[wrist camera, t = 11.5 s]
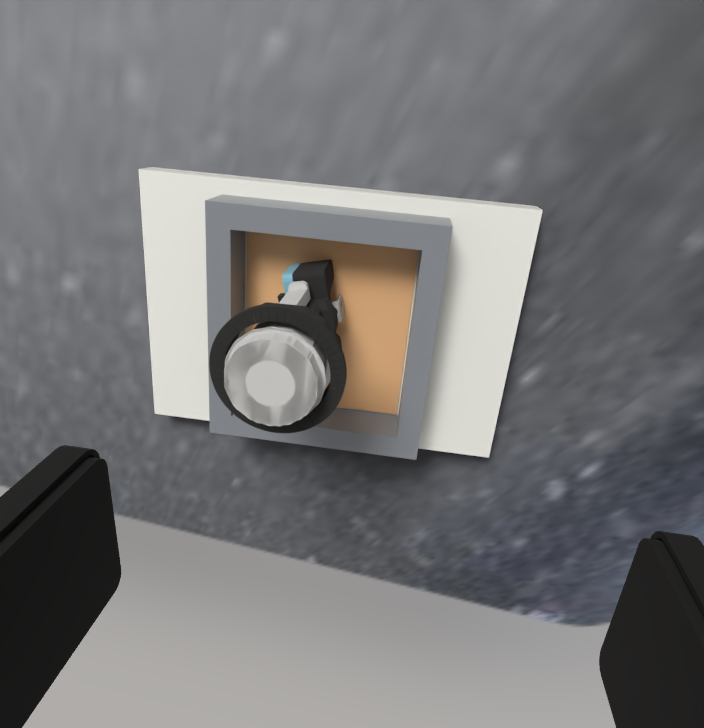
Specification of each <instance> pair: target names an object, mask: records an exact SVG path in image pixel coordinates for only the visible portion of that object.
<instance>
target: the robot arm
mask: <svg viewBox="0 0 704 728" xmlns="http://www.w3.org/2000/svg"><path fill="white" fill-rule="evenodd" d="M120 578H121V565H120V557H119V551H118V542H117V535H116V527H115V520H114V512H113V505H112V497H111V490H110V482H109V475H108V467H107V463H106V461H105V460H104V459H100V457H99V454H98V452H97V451H96V450H93V449H88V448H81V447H74V446H67V445H64V446H60V447H59V448H57V449H56V450H54V451H53V452H52V453H51V454H50V455H49V456H47V457H46V458H45V459H44V460H43V461H42V462H41V463H39V464H38V465H37V466H36V467H35V468H34V469H32V470H31V471H30V472H29V473H28V474H27V475H25V476H24V477H23V478H22V479H21V480H20V481H18V482H17V483H16V484H15V485H14V486H13V487H11V488H10V489H9V490H8V491H7V492H6V493H5V494H3V495H2V496H1V497H0V728H22V726H23V725H24V724H25V722H26V721H27V719H28V718H29V716H30V715H31V714H32V712H33V711H34V709H35V708H36V706H37V705H38V703H39V702H40V701H41V699H42V698H43V696H44V695H45V693H46V692H47V690H48V689H49V687H50V686H51V684H52V683H53V682H54V680H55V679H56V677H57V676H58V674H59V673H60V671H61V670H62V668H63V667H64V665H65V664H66V663H67V661H68V660H69V658H70V657H71V655H72V653H73V652H74V651H75V649H76V648H77V647H78V645H79V644H80V642H81V641H82V639H83V638H84V636H85V635H86V633H87V632H88V631H89V629H90V628H91V626H92V625H93V623H94V622H95V620H96V619H97V617H98V616H99V614H100V613H101V612H102V610H103V608H104V607H105V606H106V604H107V603H108V601H109V600H110V598H111V597H112V595H113V594H114V593H115V591H116V589H117V587H118V585H119V581H120ZM599 659H600V660H599V665H600V672H601V677H602V680H603V684H604V687H605V690H606V694H607V697H608V700H609V704H610V707H611V711H612V714H613V718H614V721H615V724H616V728H704V546H703V544H702V543H701V541H700V540H699V539H698V538H696V537H694V536H690V535H683V534H676V533H669V532H662V531H657V532H655V533H654V534H653V535H652V536H651V538H650V539H648V538H644V539H642V540H641V541H640V543H639V545H638V548H637V551H636V554H635V556H634V559H633V562H632V565H631V568H630V570H629V573H628V576H627V579H626V581H625V584H624V587H623V590H622V593H621V595H620V598H619V601H618V604H617V606H616V609H615V612H614V615H613V617H612V620H611V623H610V626H609V629H608V631H607V634H606V637H605V640H604V643H603V645H602V648H601V651H600V658H599Z"/></svg>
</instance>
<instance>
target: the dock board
mask: <svg viewBox="0 0 704 728" xmlns="http://www.w3.org/2000/svg"><path fill="white" fill-rule="evenodd" d="M139 182H140V197H141V212H142V227H143V243H144V258H145V273H146V288H147V303H148V318H149V334H150V349H151V364H152V379H153V394H154V410H155V414H161V415H169V416H176V417H184V418H191V419H199V420H207V421H210V433H218V434H225V435H233V436H241V437H248V438H256V439H263V440H271V441H278V442H286V443H293V444H301V445H308V446H316V447H323V448H331V449H338V450H346V451H353V452H361V453H368V454H376V455H383V456H391V457H398V458H406V459H413V460H416V459H417V453H418V448H419V449H427V450H434V451H442V452H450V453H457V454H465V455H472V456H480V457H488V458H489V455H490V450H491V445H492V441H493V436H494V432H495V427H496V423H497V418H498V413H499V409H500V404H501V400H502V395H503V390H504V386H505V381H506V377H507V372H508V367H509V363H510V358H511V354H512V349H513V344H514V340H515V335H516V331H517V326H518V321H519V317H520V312H521V308H522V303H523V298H524V294H525V289H526V285H527V280H528V275H529V271H530V266H531V262H532V257H533V252H534V248H535V243H536V239H537V234H538V230H539V225H540V220H541V216H542V211H543V210H542V209H540V208H539V207H537V206H531V205H521V204H511V203H501V202H491V201H481V200H471V199H462V198H452V197H442V196H432V195H422V194H412V193H402V192H392V191H383V190H373V189H363V188H353V187H343V186H333V185H323V184H313V183H304V182H294V181H284V180H274V179H264V178H254V177H244V176H235V175H225V174H215V173H205V172H195V171H185V170H175V169H165V168H156V167H149V168H143V169H139ZM329 259H331V260H332V264H333V270H334V279H333V283H332V287H331V292H330V296H331V301H338V297H339V295H340V294H342V297H343V304H344V316H343V319H341V320H342V321H341V322H338V327H337V331H336V333H337V334H338V335H339V336H340V338H341V343H342V351H343V353H344V357H345V361H346V368H347V377H346V384H345V389H344V392H343V395H342V398H341V400H340V402H339V404H338V406H337V407H336V409H335V410H334V411H333V412H332V414H331V415H330V416H329V417H328V418H326V419H325V420H324V421H323V422H321V423H320V424H318V425H316V426H314V427H312V428H310V429H307V430H304V431H300V432H296V433H273V432H268V431H264V430H261V429H258V428H255V427H253V426H251V425H249V424H247V423H245V422H244V421H242V420H241V419H239V418H238V417H236V416H235V415H234V414H233V413H232V412H231V411H230V410H229V409H228V408H227V407H226V406H225V405H224V403H223V402H222V401H221V399H220V398H219V396H218V394H217V392H216V390H215V388H214V386H213V383H212V380H211V376H210V369H209V357H210V351H211V347H212V344H213V342H214V339H215V337H216V336H217V334H218V332H219V331H220V330H221V328H222V327H223V326H224V325H225V324H226V323H227V322H228V321H229V320H230V319H231V318H232V317H234V316H235V315H236V314H238V313H239V312H241V311H243V310H245V309H247V308H250V307H253V306H257V305H261V304H263V303H266V302H270V303H278V298H277V296H278V295H279V294H280V293H285V291H284V286H283V280H282V275H283V273H284V272H285V271H286V270H287V269H288V268H289V266H290V265H291V264H297V263H304V262H313V261H321V260H329ZM341 307H342V306H341ZM257 324H258V323H257ZM257 324H254V325H251V326H249V327H247V328H245V329H244V330H242V331H241V332H240V334H239V336H238V339H239V338H240V337H242V336H243V335H245V334H246V333H248V332H249V331H252V330H253V329H254V328H255V327H256V326H257ZM326 378H327V377H326ZM327 386H328V384H326V387H327ZM326 387H325V388H326Z"/></svg>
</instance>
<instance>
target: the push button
mask: <svg viewBox="0 0 704 728" xmlns="http://www.w3.org/2000/svg"><path fill="white" fill-rule="evenodd" d="M333 279H334V270H333V264H332V260H331V259H329V260H321V261H313V262H304V263H297V264H291V265H290V266H289V268H288V269H287V270H286V271H285V272H284V273H283V275H282V280H283V286H284V291H285V293H280V294H279V295H278V296H277V298H278V303H270V302H266V303H263V304H261V305H257V306H253V307H250V308H247V309H245V310H243V311H241V312H239V313H238V314H236V315H235V316H234V317H232V318H231V319H230V320H229V321H228V322H227V323H226V324H225V325H224V326H223V327H222V328H221V330H220V331H219V332H218V334H217V336H216V337H215V339H214V342H213V344H212V347H211V351H210V357H209V369H210V376H211V380H212V383H213V386H214V388H215V390H216V392H217V394H218V396H219V398H220V399H221V401H222V402H223V403H224V405H225V406H226V407H227V408H228V409H229V410H230V411H231V412H232V413H233V414H234V415H235V416H236V417H238V418H239V419H241V420H242V421H244V422H245V423H247V424H249V425H251V426H253V427H255V428H258V429H261V430H264V431H268V432H273V433H296V432H300V431H304V430H307V429H310V428H312V427H314V426H316V425H318V424H320V423H321V422H323V421H324V420H325V419H326V418H328V417H329V416H330V415H331V414H332V412H333V411H334V410H335V409H336V407H337V406H338V404H339V402H340V400H341V398H342V395H343V392H344V389H345V384H346V377H347V368H346V361H345V357H344V353H343V351H342V343H341V338H340V336H339V335H338V334H337V333H336V331H337V327H338V322H341V321H342V320H341V319H343V316H344V304H343V297H342V294H340V295H339V297H338V301H331V296H330V292H331V287H332V283H333ZM341 306H342V307H341ZM257 323H258V324H257ZM254 324H257V326H256V327H255V328H254V329H253V330H252V331H249V332H248V333H246V334H245V335H243V336H242V337H240V338H239V339H238V336H239V334H240V332H241V331H242V330H244V329H245V328H247V327H249V326H251V325H254ZM326 377H327V378H326ZM326 384H328V386H327V387H326ZM325 387H326V388H325Z"/></svg>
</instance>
